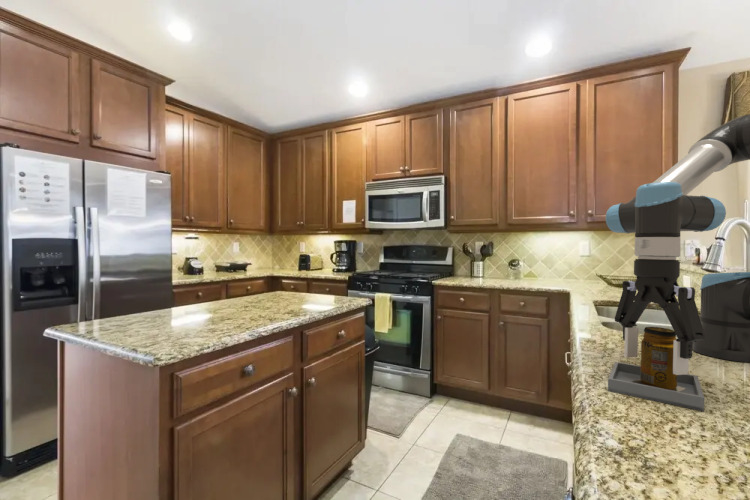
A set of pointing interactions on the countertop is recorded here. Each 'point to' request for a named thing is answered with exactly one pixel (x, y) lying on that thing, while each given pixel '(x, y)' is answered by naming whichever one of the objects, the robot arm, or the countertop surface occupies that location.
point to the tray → (686, 398)
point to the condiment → (658, 359)
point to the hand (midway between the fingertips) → (653, 364)
